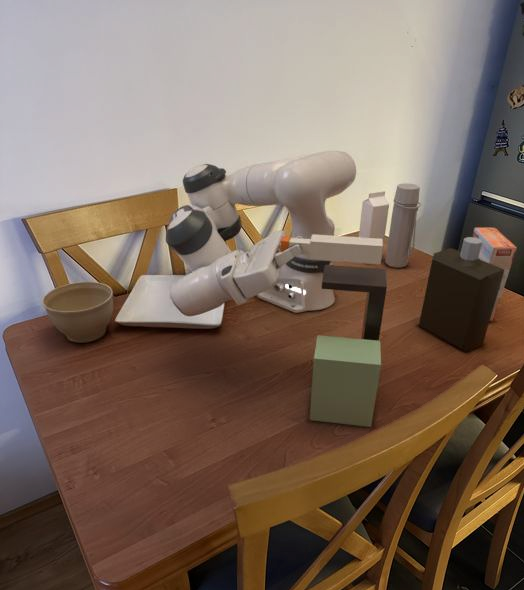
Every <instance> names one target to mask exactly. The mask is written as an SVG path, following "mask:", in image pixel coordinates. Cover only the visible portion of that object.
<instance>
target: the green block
mask: <svg viewBox="0 0 524 590" xmlns="http://www.w3.org/2000/svg"><path fill="white" fill-rule="evenodd" d="M314 348H315V349H314V353H313V363H312V364H313V365H312V378H311V379H312V381H311V393H310V394H311V396H310V410H309V421H315V422H323V423H332V424H333V423H334V424H339V425H340V424H341V425H351V426H358V427H367V428H372V424H373V417H374V412H375V405H376V399H377V392H378V387H379V381H380V374H381V368H382V351H381V349H382V348H381V340H379V341H376V340H365V339H361V338H353V337H342V336H332V335H331V336H329V335H321V334H320V335H319V334H318V335H317V337H316V342H315V347H314Z"/></svg>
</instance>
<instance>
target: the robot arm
mask: <svg viewBox="0 0 524 590" xmlns="http://www.w3.org/2000/svg"><path fill="white" fill-rule="evenodd" d="M226 174H227V170H226V169H225V168H221V167H220V168H219V167H218V166H216V165H214V164H210V163H204V164H198V165H195V166H193V167H192V168H190V169H189V170H188V171H187V172H186V173H185V174H184V176H183V177H182V185H183V189H184V191H185V194H187V196H188V198H189V202H190V204H185V205H182V206H181V207H179V208H177V209H176V210H175V211H174V212H173V213H171V215H170V218H169V220H168V221H169V224H168V226H167V227H166V231H165V243H166V244H167V245H168V246H169V247H170V249H172V251H173V252H174V253H176V255H178V257H179V258H180V259H181V261H182V262H183V263H184V264H185V266H186V267H187V268H188V269H189V271H190V273H187V274H185V275H186V276H184V277H183V278H181V279H180V280H178V281H177V282H176V283H174V284H173V285H172V286H171V287H170V290H169V291H170V297H171V299H172V301H173V303H174V305H175V306H176V307H177V309H178V310H179V311H180V312H181V313H182V314H184V315H185V316H195V315H199V314H202V313H205V312H208V311H211V310H213V309H215V308H218V307H220V306H221V305H222V304H223V303H225V304H226V302H228V301H234V303H235V304H236V305H237V306H241V305H243V304H245V303H247V302H248V300H249V299H251V298H254V297H256V298H258V299H259V300H263V301H265V302H268V303H271V304H273V305H275V306H277V307H280V308H283V309H285V310H287V311H290V312H292V313H295V314H298V313H304V312H307V311H309V312H310V311H320V310H324V309H327V308H329V307H331V306H332V305H333V304H334V303H335V301H336V298H335V292H334V290H330V289H322V279H323V273H324V268H325V265H335V261H324V260H310V259H309V254H301V252H302V248H301V246H300V244H299V243H296V244H294V245H292V246H290V248H288V249H286V250H285V251H283V252H281V239H282V237H283V236H287V235H286V233H285V231H284V230H278V231H276V232H273V233H272V234H270V235H268V236H266V237H264V238H263V239H260V240H259V241H257V242H256V243H255V244H253V245H252V246H251V248H250V250H249V251H246V252H245V251H244V250H242V249H240V248H238V249H235V250H233V251H232V250H231V248H229V247H230V246H229V245H228V244H227V243H226V241H229V240H232V239H233V238H235V237H236V236H237V235H238V234H239V233H240V232H241V230H242V228H243V224H242V218H241V215H240V214H239V212H238V209H237V206H236V205H242V206H247V207H268V206H279V205H280V206H281V205H282V206H283V207H285V208H286V210H287V212H288V214H289V218H290V221H291V238H300V239H311V237H312V234H315V235H331V236H335V231H336V226H335V222H334V221H333V220H332V219H331V218H330V217H329V216H328V215H327V211H326V201H327V200H328V199H330V198H333V197H336V196H338V195H341V194H342V193H343V192H344V191H346V190H347V189H348V188H350V187H351V186H352V185H353V183H354V181H355V180H356V176H357V165H356V162H355V160H354V158H353V157H352V156H351V154H349V153H347V152H345V151H341V150H324V151H320V152H314V153H308V154H304V155H300V156H295V157H289V158H284V159H280V160H274V161H269V162H268V161H267V162H262V163H256V164H251V165H249V166H248V165H247V166H244V167H242V168H240V169H237V170H235V171H234V172H232V173H231V174H229V175H226Z"/></svg>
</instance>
